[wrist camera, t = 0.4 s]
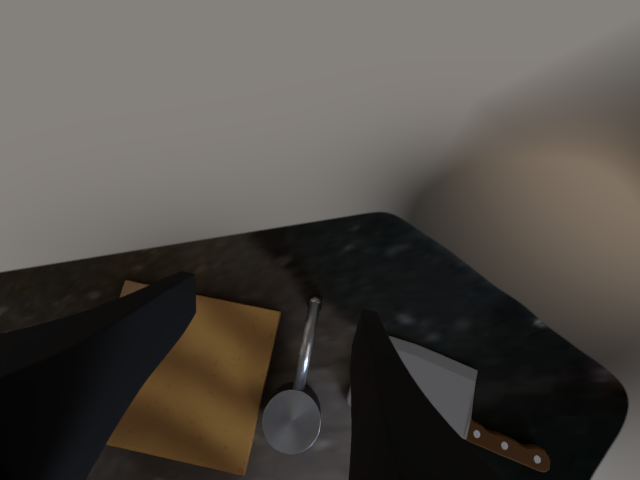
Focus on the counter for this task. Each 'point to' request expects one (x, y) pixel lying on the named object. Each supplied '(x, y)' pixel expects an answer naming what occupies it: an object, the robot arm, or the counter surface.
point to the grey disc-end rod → (296, 399)
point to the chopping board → (204, 388)
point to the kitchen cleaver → (461, 402)
